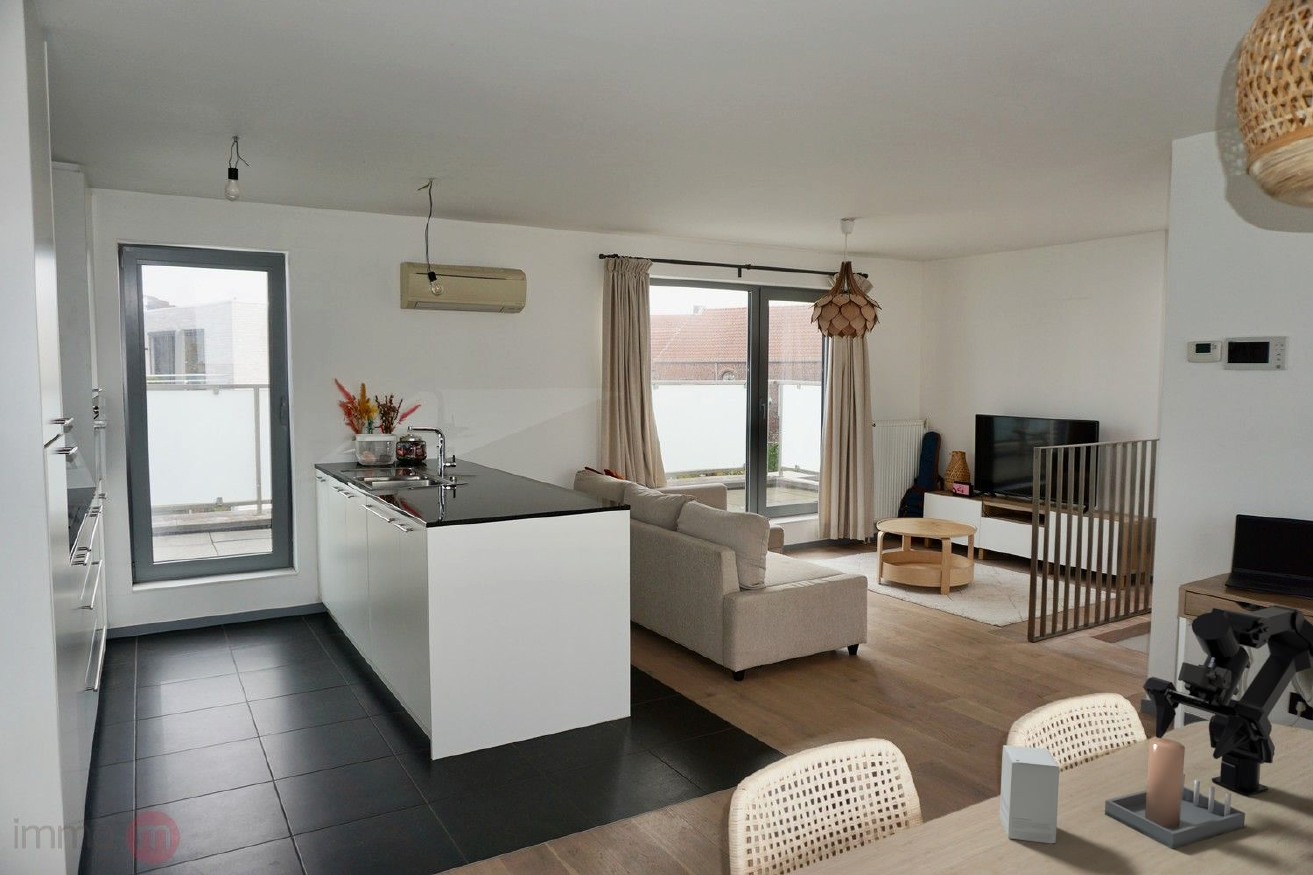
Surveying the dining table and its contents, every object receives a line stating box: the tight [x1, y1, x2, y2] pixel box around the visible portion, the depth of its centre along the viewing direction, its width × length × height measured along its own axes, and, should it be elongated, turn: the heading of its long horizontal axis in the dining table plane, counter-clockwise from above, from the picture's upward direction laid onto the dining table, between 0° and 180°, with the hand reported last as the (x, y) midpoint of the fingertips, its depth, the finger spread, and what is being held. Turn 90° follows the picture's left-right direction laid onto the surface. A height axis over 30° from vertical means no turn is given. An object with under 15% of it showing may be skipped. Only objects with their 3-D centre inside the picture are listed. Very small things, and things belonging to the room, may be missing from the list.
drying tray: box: [1104, 773, 1246, 850], centre depth 145 cm, size 18×12×5 cm, turn 114°
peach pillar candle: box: [1145, 737, 1186, 828], centre depth 144 cm, size 5×5×13 cm
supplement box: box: [999, 744, 1060, 844], centre depth 141 cm, size 7×7×13 cm
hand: (1185, 747), depth 147 cm, fingers open, 9 cm apart
